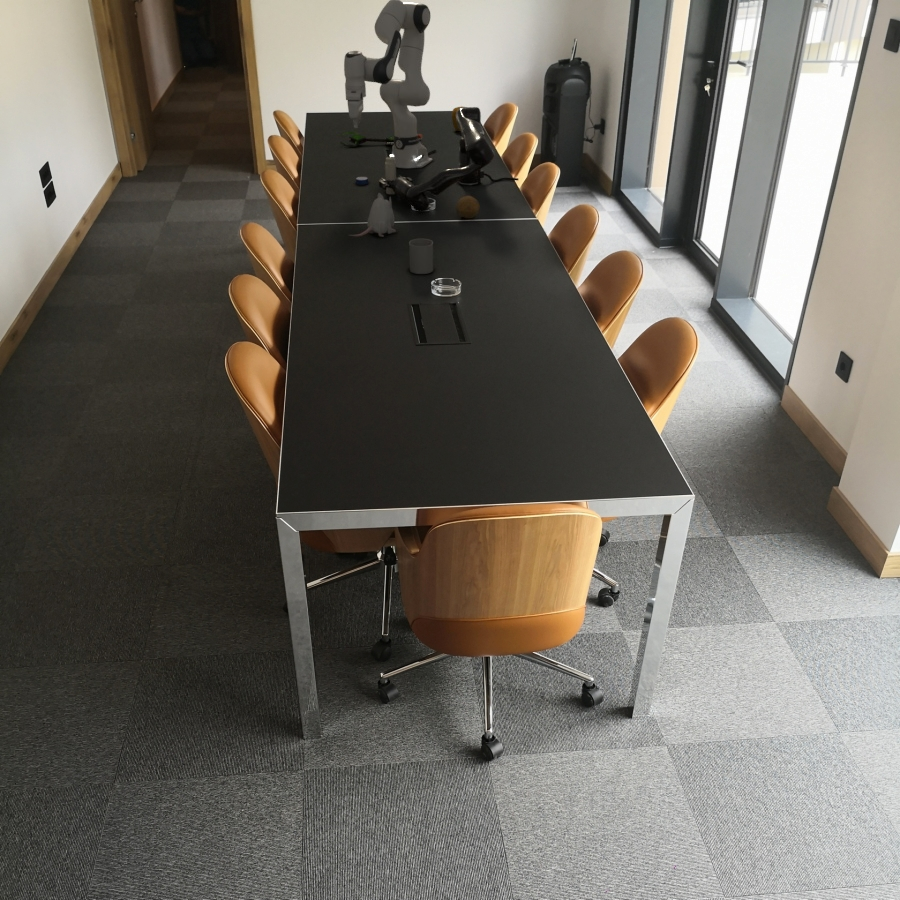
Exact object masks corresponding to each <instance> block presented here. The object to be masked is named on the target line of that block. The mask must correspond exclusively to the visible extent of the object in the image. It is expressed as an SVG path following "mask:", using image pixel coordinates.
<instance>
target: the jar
mask: <svg viewBox="0 0 900 900" xmlns="http://www.w3.org/2000/svg"><path fill="white" fill-rule="evenodd" d="M384 173H385V175H384V176H385V180H388V179H390V180H395V179H397V167H396V162H395V158H394V157H390V156H386V157H385V161H384ZM385 183H386V182H385ZM389 183H390V181H389ZM386 184H387V183H386ZM385 193H386V195H396V194H395V193H394V192H393V190H392V189H391V188H386V190H385Z"/></svg>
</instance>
